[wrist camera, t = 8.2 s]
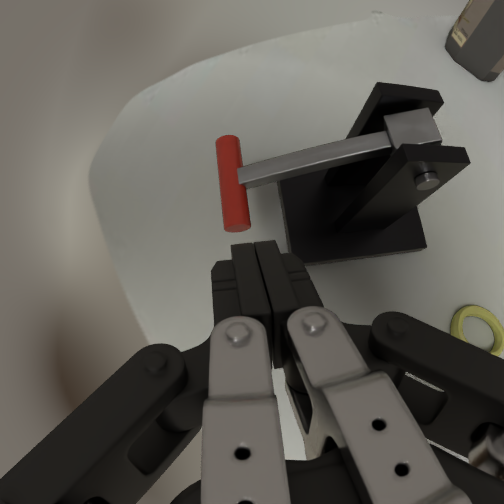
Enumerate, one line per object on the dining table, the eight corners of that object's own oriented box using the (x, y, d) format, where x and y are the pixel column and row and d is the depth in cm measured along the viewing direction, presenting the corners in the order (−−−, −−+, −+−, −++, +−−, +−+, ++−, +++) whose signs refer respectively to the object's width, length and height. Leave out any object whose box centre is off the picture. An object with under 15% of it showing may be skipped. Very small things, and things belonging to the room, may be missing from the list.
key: (436, 437, 22) (449, 442, 20) (449, 305, 25) (463, 302, 23) (488, 425, 22) (501, 428, 20) (498, 306, 25) (512, 303, 23)
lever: (233, 236, 20) (216, 226, 18) (224, 152, 22) (208, 136, 19) (446, 188, 16) (455, 172, 14) (414, 104, 17) (416, 81, 15)
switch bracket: (290, 267, 25) (344, 205, 13) (273, 164, 27) (300, 52, 15) (420, 250, 26) (521, 197, 14) (395, 160, 28) (466, 76, 16)
